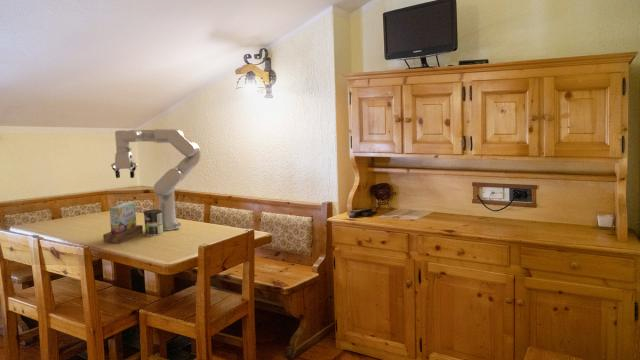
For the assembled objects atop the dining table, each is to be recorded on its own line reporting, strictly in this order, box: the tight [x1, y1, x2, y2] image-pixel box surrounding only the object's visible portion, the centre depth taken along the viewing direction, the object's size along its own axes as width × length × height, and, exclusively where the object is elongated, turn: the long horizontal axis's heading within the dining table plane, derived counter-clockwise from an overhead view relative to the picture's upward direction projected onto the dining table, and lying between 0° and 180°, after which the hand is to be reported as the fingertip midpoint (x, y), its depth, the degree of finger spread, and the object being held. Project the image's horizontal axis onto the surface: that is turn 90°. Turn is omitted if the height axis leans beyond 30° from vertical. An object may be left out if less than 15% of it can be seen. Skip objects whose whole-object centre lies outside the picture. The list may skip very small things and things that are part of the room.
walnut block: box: [102, 224, 144, 245], centre depth 266 cm, size 10×24×5 cm, turn 171°
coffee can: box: [143, 209, 164, 237], centre depth 275 cm, size 10×10×14 cm
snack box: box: [109, 201, 137, 234], centre depth 265 cm, size 21×6×15 cm, turn 177°
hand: (125, 177), depth 284 cm, fingers open, 9 cm apart
